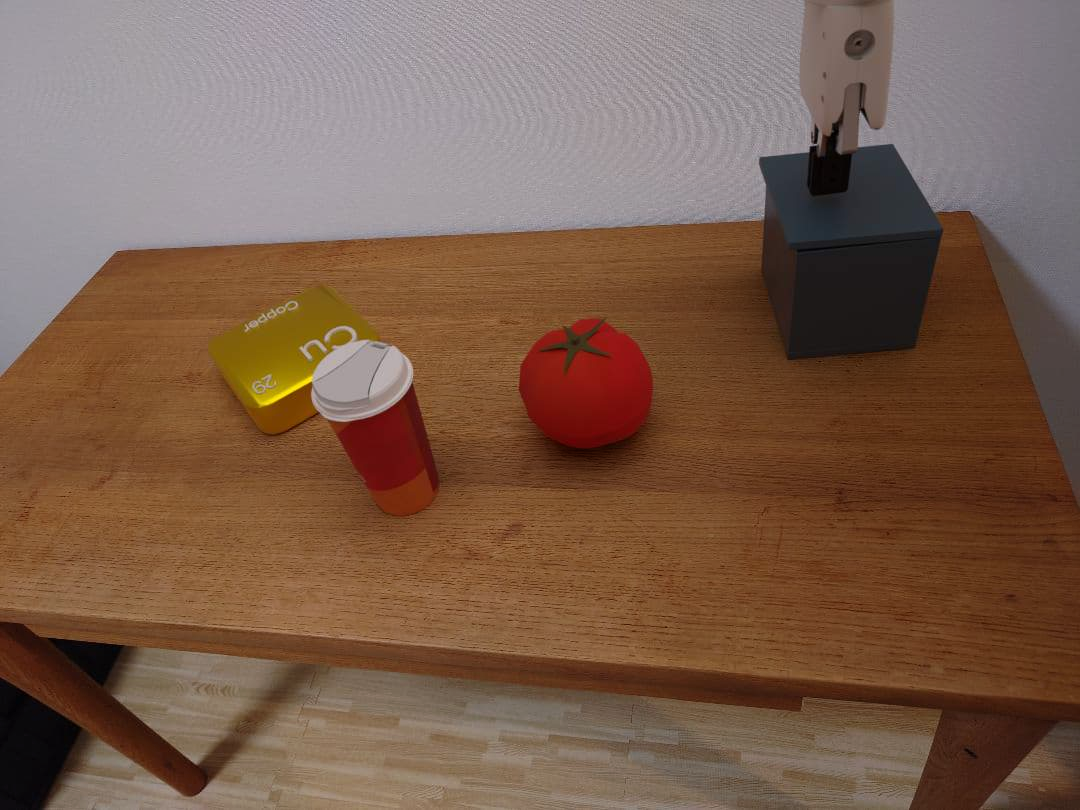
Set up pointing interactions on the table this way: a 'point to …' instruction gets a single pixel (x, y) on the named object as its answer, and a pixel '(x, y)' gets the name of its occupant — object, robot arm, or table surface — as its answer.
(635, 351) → the tomato
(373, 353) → the coffee cup
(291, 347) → the element tile
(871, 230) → the lid
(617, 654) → the table surface
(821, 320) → the cool box
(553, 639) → the table surface
